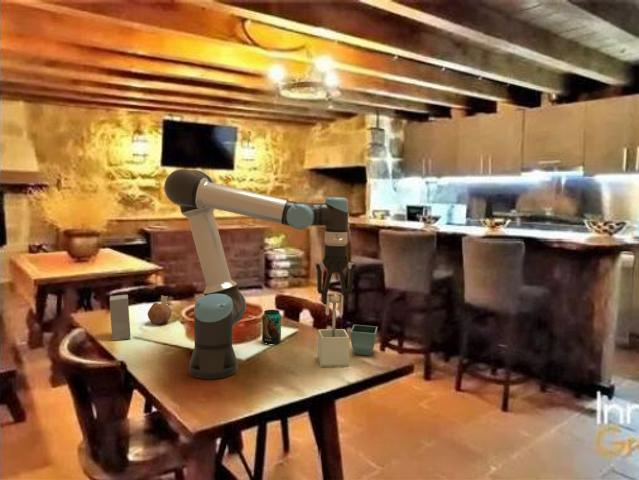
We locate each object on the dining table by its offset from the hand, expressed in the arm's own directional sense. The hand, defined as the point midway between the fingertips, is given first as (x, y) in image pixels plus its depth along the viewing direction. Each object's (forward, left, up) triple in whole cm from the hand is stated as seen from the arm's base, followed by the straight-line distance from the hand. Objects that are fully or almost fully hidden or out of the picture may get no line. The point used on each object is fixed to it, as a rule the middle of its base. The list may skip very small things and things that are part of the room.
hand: (334, 313), depth 160 cm
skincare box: (-77, +31, -17) cm, 85 cm away
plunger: (0, 0, -12) cm, 12 cm away
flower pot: (+12, +8, -17) cm, 23 cm away
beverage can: (-20, +22, -17) cm, 34 cm away
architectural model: (-68, +71, -17) cm, 99 cm away
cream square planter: (0, 0, -17) cm, 17 cm away
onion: (-66, +49, -17) cm, 84 cm away
